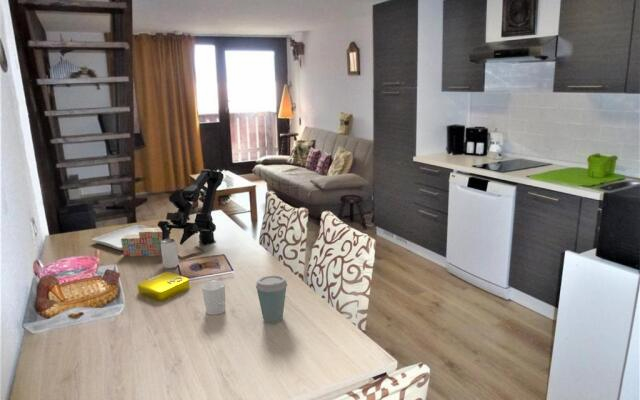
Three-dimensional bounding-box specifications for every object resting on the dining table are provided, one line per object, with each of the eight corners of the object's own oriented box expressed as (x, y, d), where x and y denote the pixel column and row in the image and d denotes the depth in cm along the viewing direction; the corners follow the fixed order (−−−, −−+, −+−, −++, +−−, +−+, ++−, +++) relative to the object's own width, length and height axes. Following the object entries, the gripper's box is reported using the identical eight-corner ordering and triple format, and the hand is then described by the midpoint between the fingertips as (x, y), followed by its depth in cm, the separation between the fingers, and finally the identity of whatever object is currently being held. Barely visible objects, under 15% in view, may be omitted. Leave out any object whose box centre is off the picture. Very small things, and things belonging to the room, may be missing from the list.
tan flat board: (196, 248, 227) (196, 245, 226) (204, 252, 221) (204, 249, 221) (174, 254, 219) (173, 252, 219) (181, 259, 213) (181, 256, 213)
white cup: (231, 306, 166) (228, 281, 164) (219, 317, 159) (217, 291, 156) (212, 304, 169) (209, 279, 166) (200, 314, 162) (197, 288, 159)
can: (165, 263, 209) (162, 238, 206) (180, 262, 209) (176, 238, 206) (162, 269, 202) (158, 243, 199) (176, 268, 203) (173, 242, 200)
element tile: (168, 280, 192) (167, 269, 191) (192, 288, 183) (190, 277, 182) (136, 294, 180) (135, 283, 179) (160, 303, 172) (158, 292, 170)
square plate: (137, 230, 260) (137, 223, 259) (167, 238, 245) (166, 231, 244) (91, 244, 239) (90, 237, 238) (121, 254, 224) (119, 247, 223)
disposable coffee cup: (254, 315, 159) (251, 276, 155) (283, 308, 163) (281, 269, 159) (263, 330, 150) (259, 288, 146) (294, 322, 154) (291, 281, 150)
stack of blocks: (123, 256, 220) (119, 232, 217) (129, 252, 226) (125, 228, 223) (167, 255, 219) (163, 231, 216) (171, 251, 225) (168, 227, 222)
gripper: (157, 203, 209) (144, 234, 202) (192, 205, 203) (180, 237, 196) (169, 215, 218) (158, 245, 211) (203, 217, 213) (193, 248, 205)
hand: (171, 243), depth 206 cm, fingers open, 9 cm apart
